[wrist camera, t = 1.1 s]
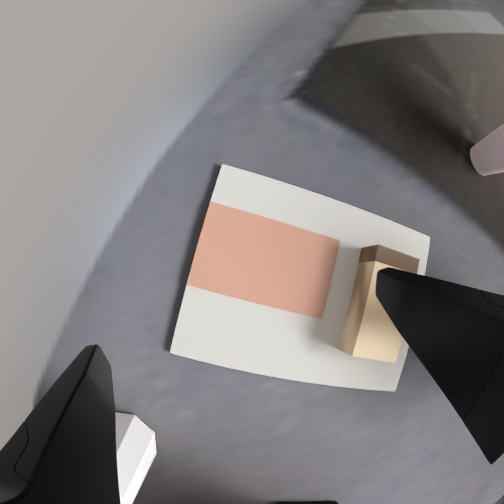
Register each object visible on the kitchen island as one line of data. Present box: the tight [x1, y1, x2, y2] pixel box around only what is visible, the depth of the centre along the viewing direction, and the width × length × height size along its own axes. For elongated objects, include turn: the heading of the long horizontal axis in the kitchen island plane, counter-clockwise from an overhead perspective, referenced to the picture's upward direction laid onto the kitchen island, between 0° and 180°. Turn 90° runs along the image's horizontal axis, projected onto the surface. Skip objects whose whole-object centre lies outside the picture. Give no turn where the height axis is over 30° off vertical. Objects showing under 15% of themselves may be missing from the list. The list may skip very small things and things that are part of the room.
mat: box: [170, 164, 430, 391], centre depth 22 cm, size 19×14×1 cm
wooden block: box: [338, 244, 420, 363], centre depth 21 cm, size 8×4×2 cm, turn 165°
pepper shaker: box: [115, 412, 156, 504], centre depth 14 cm, size 5×5×11 cm
